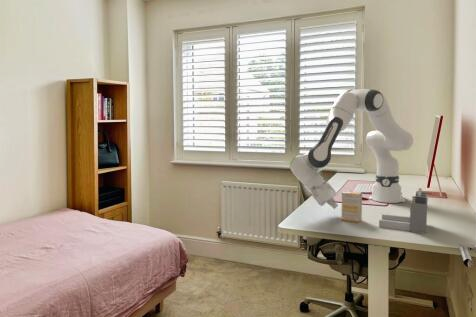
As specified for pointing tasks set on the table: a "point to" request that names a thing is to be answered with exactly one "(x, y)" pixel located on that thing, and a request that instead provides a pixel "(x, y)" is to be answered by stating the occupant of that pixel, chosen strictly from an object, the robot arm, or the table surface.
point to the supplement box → (351, 206)
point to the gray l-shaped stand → (416, 216)
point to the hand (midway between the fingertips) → (336, 207)
